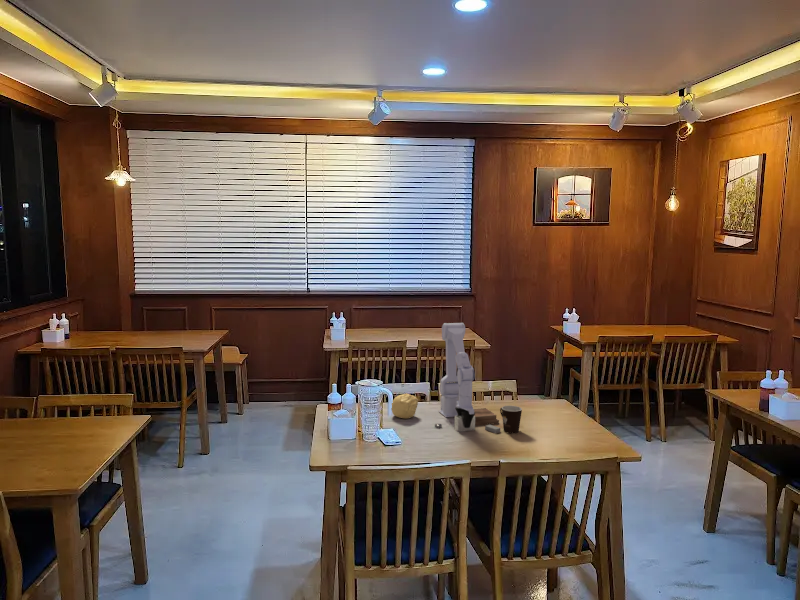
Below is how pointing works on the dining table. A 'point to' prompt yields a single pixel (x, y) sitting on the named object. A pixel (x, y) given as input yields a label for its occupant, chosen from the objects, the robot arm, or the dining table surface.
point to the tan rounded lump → (404, 406)
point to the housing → (460, 424)
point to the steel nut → (438, 425)
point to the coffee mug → (511, 418)
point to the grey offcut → (492, 428)
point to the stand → (485, 417)
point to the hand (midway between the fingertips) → (464, 425)
